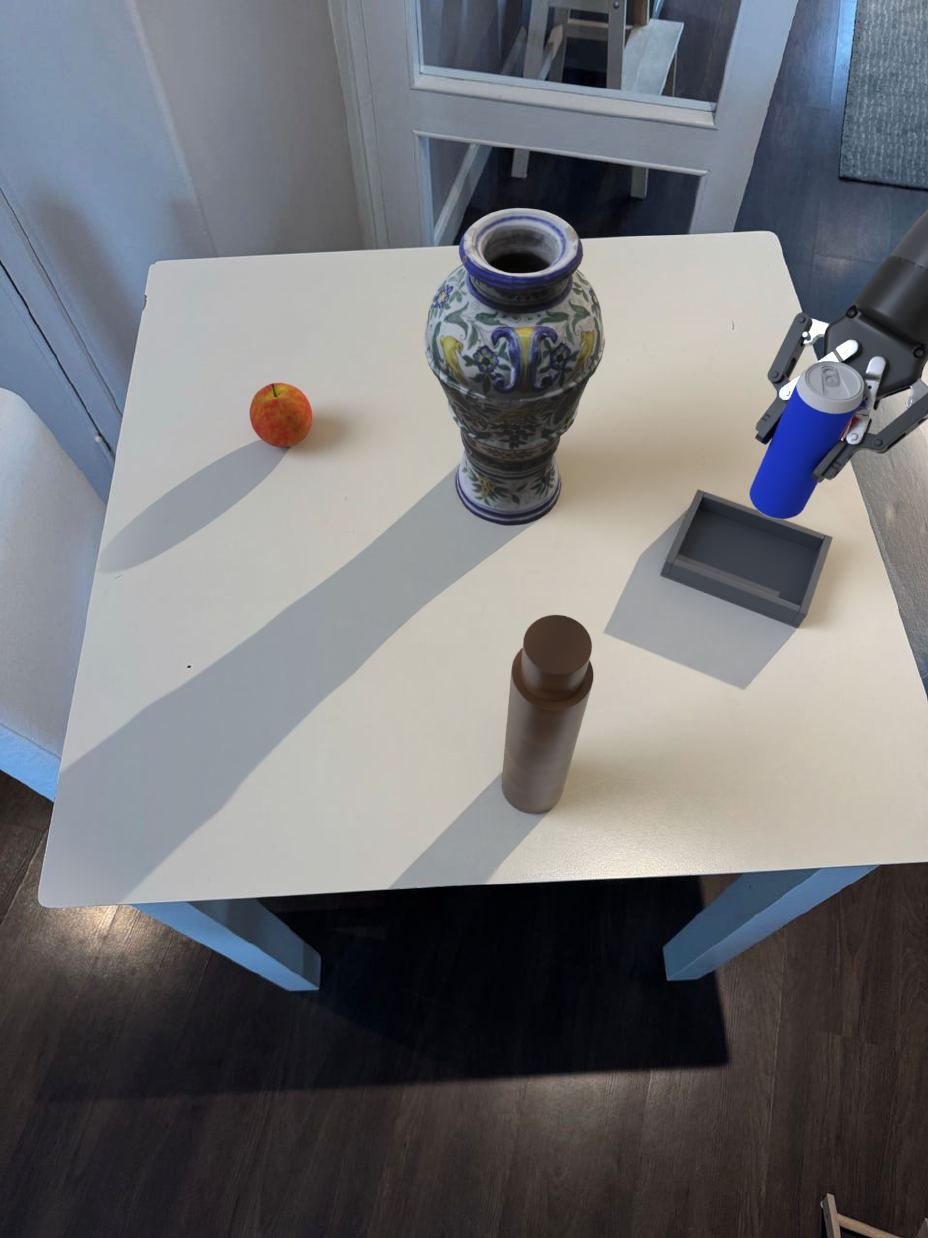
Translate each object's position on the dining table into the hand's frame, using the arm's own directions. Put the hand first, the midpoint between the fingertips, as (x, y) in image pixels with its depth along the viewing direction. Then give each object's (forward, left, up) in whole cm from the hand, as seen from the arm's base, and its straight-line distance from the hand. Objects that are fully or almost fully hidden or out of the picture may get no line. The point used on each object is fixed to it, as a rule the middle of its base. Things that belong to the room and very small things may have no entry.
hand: (788, 459), depth 72 cm
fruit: (+53, +4, -18) cm, 56 cm away
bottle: (+10, +30, -18) cm, 36 cm away
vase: (+27, -1, -18) cm, 32 cm away
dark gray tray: (0, -2, -18) cm, 18 cm away
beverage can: (-1, -2, -7) cm, 8 cm away
